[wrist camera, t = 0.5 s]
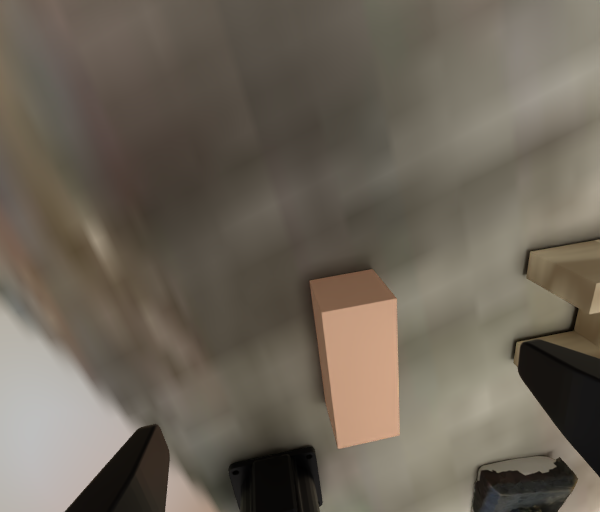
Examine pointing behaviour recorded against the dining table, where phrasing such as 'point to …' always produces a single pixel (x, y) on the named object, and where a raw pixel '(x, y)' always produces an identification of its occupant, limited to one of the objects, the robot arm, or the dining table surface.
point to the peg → (358, 355)
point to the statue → (523, 485)
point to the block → (571, 291)
